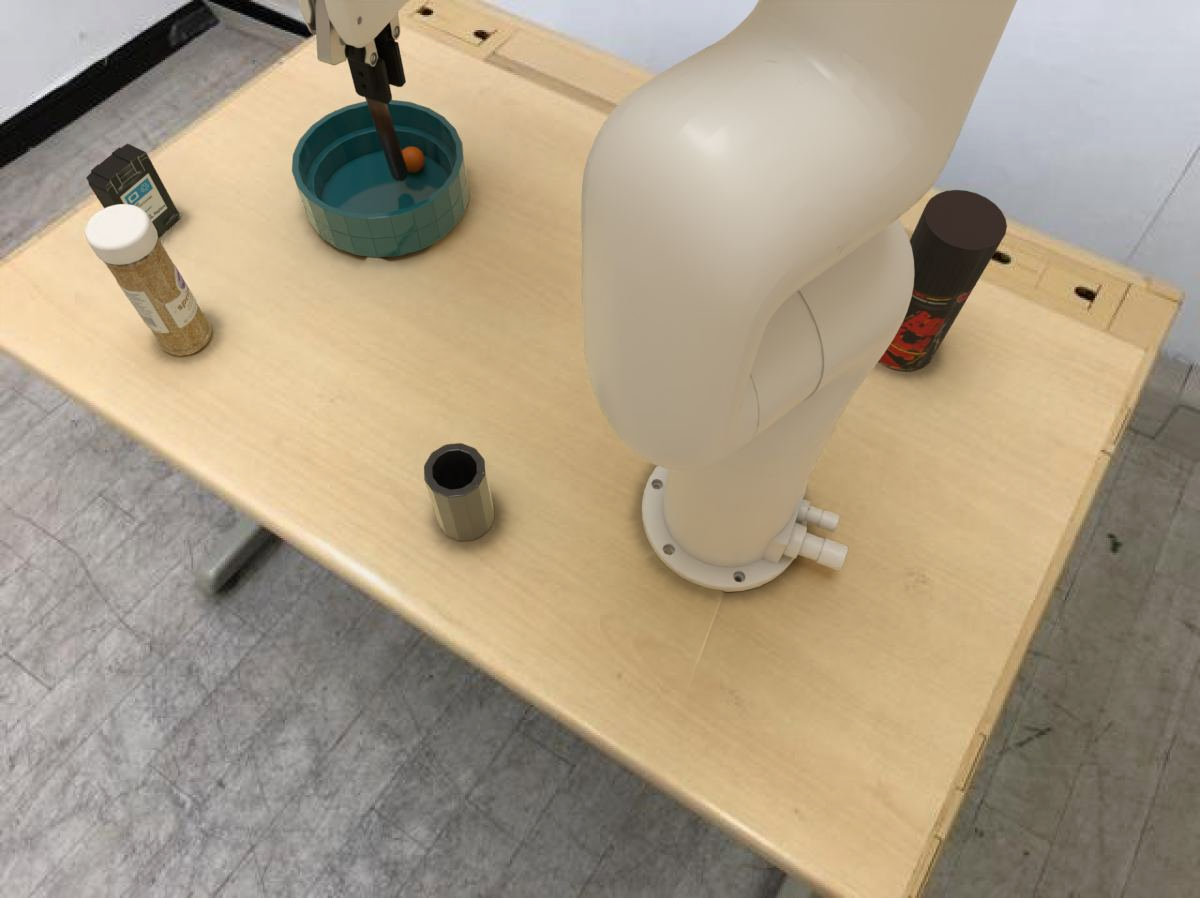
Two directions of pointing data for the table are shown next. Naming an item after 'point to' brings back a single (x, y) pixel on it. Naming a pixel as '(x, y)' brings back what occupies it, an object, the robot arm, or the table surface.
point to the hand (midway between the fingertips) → (381, 88)
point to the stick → (388, 139)
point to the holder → (459, 491)
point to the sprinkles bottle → (148, 277)
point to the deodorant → (944, 271)
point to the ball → (413, 159)
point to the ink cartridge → (133, 186)
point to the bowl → (380, 181)
